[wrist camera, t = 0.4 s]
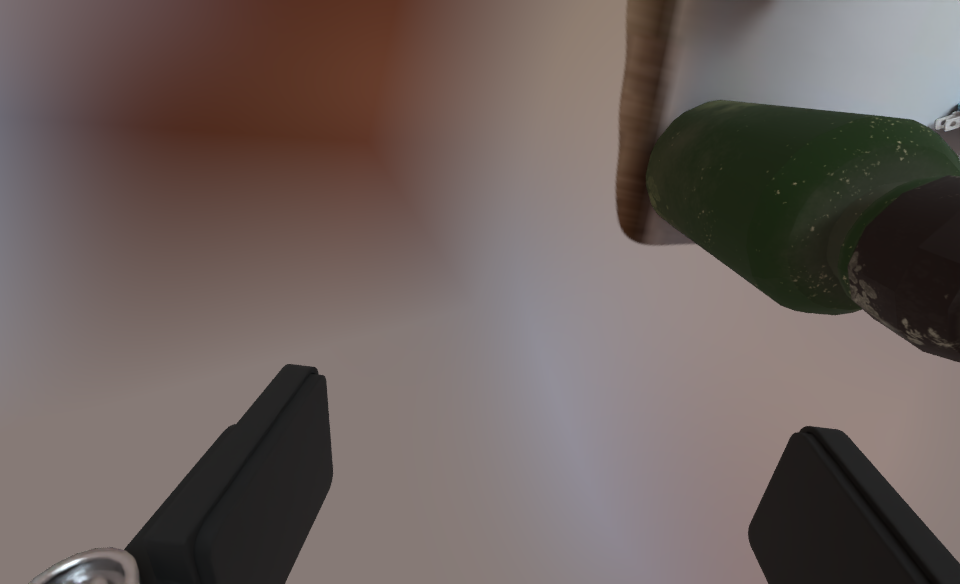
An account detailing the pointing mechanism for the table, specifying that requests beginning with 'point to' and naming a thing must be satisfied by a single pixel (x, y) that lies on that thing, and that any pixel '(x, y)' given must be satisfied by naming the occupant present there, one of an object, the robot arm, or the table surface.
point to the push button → (949, 121)
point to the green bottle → (822, 210)
